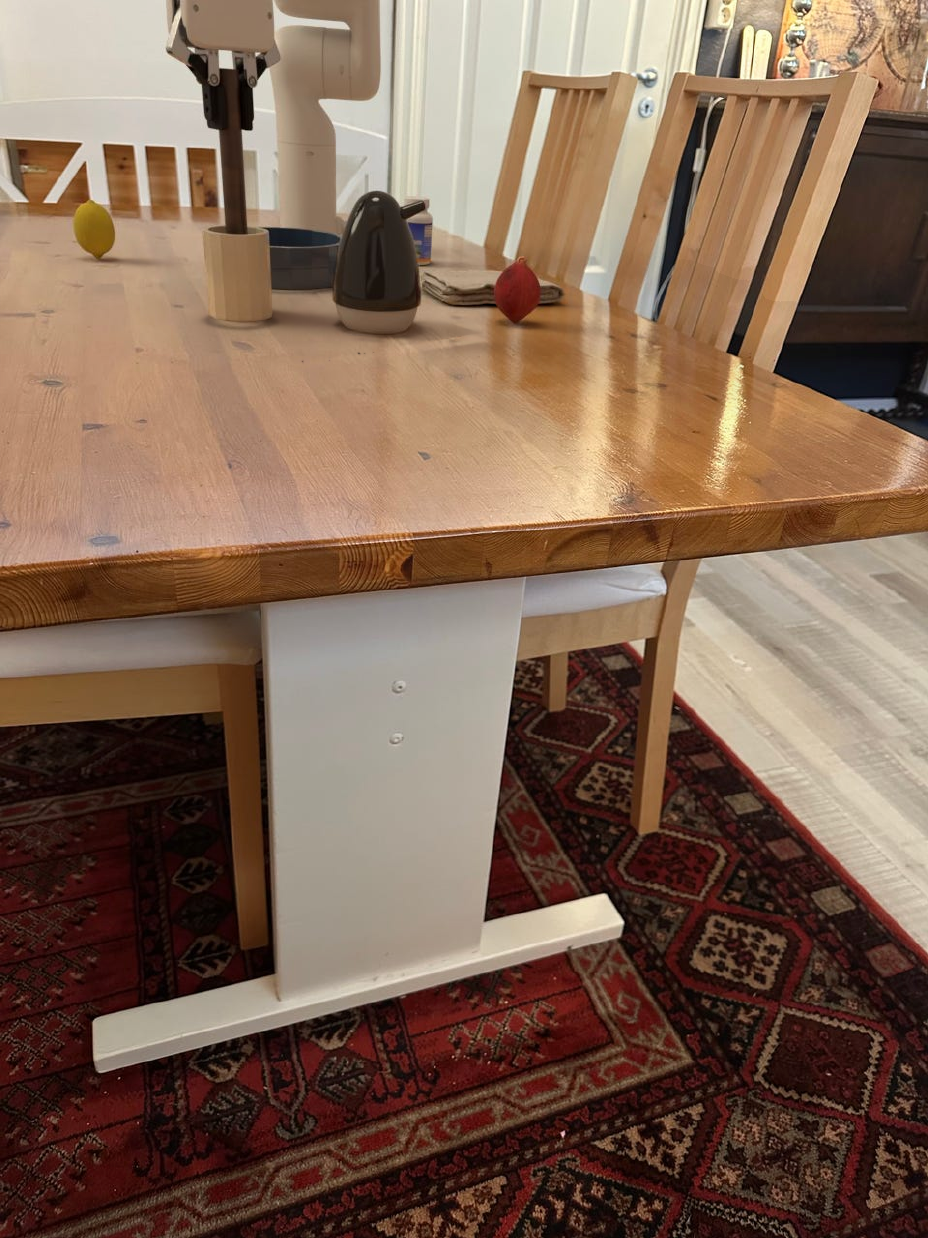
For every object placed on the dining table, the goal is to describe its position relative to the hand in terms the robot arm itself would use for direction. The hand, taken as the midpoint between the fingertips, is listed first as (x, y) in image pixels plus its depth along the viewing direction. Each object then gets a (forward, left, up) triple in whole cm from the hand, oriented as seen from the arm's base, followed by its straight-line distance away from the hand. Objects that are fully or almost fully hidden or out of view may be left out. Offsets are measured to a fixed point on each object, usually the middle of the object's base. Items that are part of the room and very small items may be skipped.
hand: (230, 127), depth 96 cm
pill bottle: (-45, -22, -20) cm, 54 cm away
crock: (0, 0, -20) cm, 20 cm away
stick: (0, 0, -13) cm, 13 cm away
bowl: (-17, -17, -20) cm, 31 cm away
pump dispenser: (-11, +12, -20) cm, 26 cm away
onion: (-30, +16, -20) cm, 40 cm away
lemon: (-1, -42, -20) cm, 46 cm away
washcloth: (-38, +3, -20) cm, 43 cm away
